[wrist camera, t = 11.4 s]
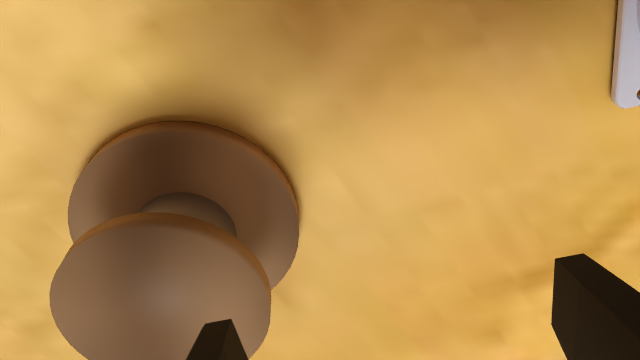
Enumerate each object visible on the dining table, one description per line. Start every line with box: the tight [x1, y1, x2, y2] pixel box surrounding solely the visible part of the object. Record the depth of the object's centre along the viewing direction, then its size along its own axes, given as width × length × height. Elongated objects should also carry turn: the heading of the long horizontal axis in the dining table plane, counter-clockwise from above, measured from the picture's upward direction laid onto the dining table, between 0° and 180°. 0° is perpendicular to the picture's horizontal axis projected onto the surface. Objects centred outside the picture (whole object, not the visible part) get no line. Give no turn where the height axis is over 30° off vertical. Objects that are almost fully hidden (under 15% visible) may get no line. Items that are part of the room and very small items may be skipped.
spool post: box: [50, 121, 299, 360], centre depth 19 cm, size 9×9×5 cm
